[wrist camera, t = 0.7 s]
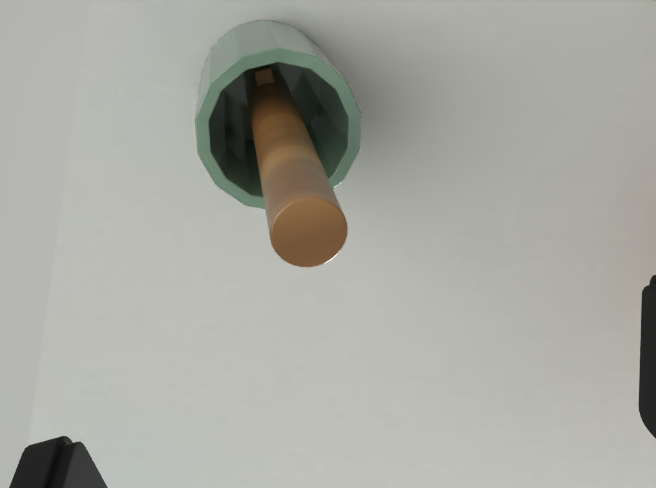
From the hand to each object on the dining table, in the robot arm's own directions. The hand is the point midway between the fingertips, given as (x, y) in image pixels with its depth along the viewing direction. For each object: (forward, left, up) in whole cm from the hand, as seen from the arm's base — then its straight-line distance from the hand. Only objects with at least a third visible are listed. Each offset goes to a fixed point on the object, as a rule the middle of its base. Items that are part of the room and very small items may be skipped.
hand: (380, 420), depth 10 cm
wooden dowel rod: (0, 0, -23) cm, 23 cm away
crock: (0, 0, -23) cm, 23 cm away
